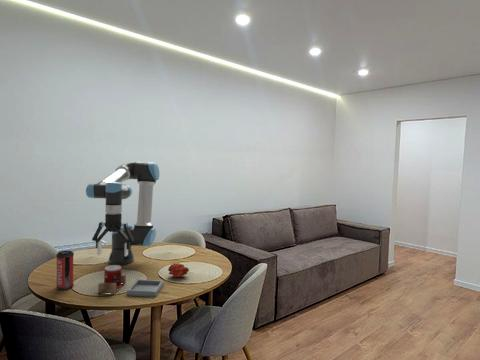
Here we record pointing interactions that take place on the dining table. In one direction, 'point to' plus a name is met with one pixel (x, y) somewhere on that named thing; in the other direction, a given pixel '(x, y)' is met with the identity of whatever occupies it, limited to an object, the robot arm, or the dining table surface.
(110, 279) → the canned food
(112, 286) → the tan block
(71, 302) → the dining table surface
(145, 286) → the tray
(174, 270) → the dragon fruit
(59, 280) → the speaker
